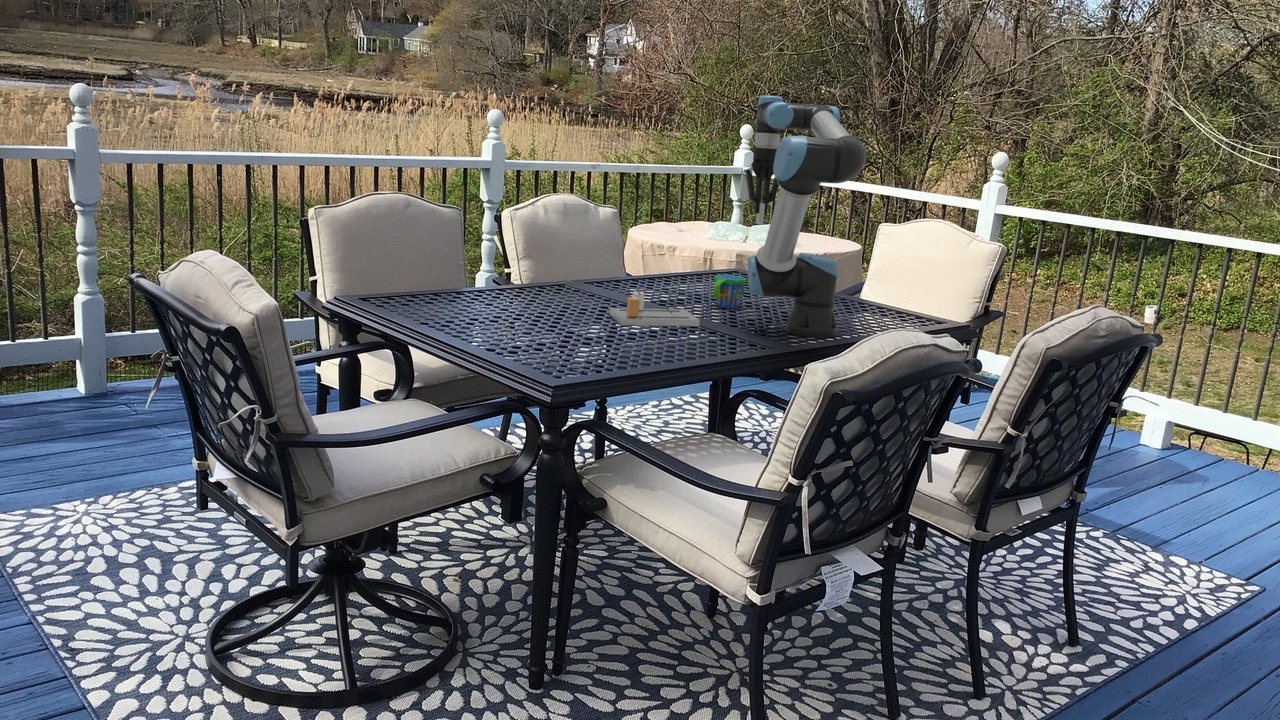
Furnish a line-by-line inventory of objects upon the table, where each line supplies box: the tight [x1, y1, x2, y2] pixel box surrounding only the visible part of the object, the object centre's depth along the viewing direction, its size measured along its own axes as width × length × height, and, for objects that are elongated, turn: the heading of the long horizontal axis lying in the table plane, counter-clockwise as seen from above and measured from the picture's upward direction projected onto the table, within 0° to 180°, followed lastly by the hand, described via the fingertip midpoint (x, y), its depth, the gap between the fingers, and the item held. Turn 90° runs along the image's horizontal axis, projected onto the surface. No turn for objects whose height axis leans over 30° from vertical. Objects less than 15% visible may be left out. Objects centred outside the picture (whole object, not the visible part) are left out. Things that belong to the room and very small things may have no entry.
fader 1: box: [632, 290, 645, 310], centre depth 300 cm, size 4×3×5 cm
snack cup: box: [712, 274, 748, 310], centre depth 326 cm, size 16×10×10 cm
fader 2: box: [626, 295, 640, 316], centre depth 290 cm, size 4×3×5 cm
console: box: [609, 307, 701, 327], centre depth 297 cm, size 17×24×2 cm
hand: (759, 223), depth 309 cm, fingers closed
